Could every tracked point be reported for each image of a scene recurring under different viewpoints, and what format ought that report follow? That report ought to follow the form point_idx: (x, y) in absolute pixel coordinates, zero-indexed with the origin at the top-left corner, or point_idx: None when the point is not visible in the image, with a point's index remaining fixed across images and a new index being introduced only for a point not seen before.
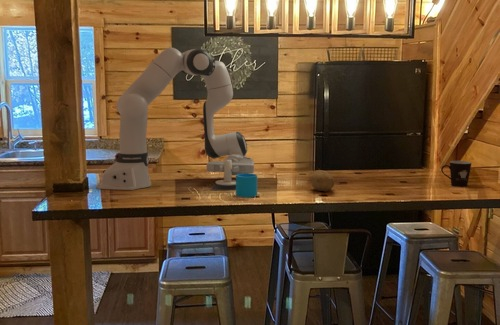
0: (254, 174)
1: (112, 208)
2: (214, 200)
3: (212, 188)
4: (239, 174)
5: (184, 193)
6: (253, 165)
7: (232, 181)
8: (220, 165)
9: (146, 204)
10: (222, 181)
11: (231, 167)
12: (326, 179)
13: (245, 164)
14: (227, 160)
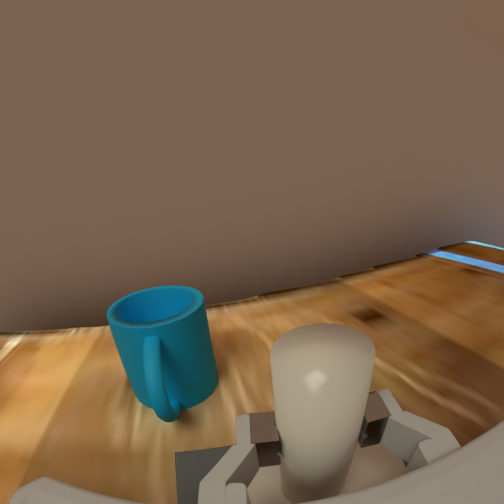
0: (113, 318)
1: (420, 256)
2: (277, 324)
3: None
4: (186, 309)
5: (428, 349)
6: (26, 486)
7: (278, 501)
8: (454, 449)
9: (401, 274)
10: (354, 472)
11: (275, 413)
12: None
13: (101, 501)
14: (313, 330)
